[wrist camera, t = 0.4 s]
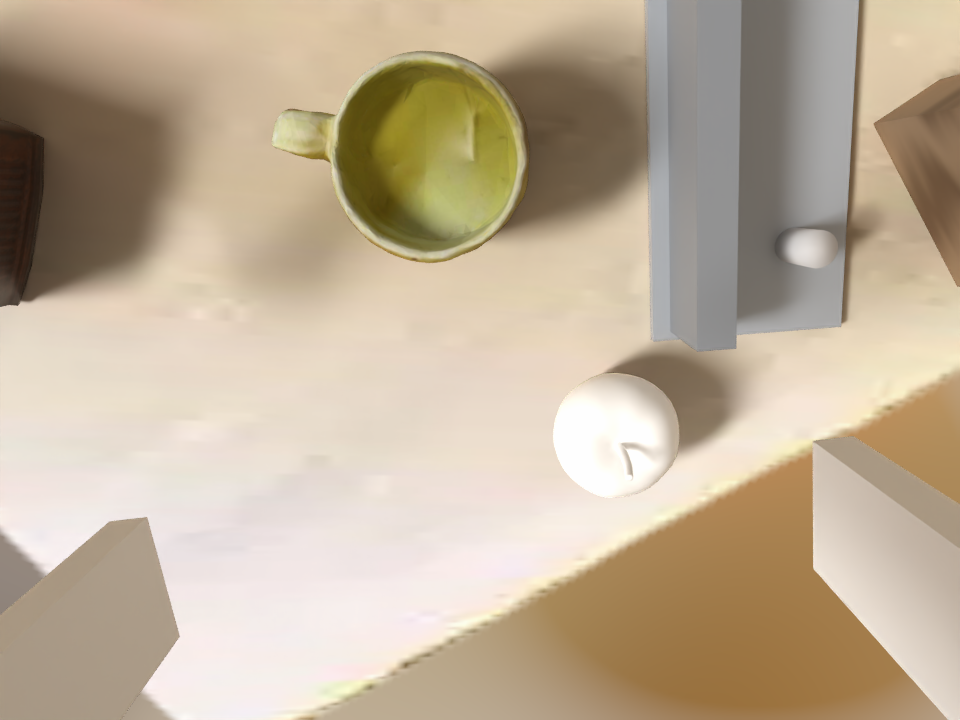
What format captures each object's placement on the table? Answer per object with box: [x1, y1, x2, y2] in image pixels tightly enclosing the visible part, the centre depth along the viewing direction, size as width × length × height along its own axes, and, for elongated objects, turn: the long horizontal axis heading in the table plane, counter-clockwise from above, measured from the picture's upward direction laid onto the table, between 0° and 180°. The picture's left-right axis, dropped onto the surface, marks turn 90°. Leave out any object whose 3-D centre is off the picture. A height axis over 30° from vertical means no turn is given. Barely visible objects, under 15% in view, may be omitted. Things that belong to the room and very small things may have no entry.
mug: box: [272, 51, 529, 263], centre depth 33 cm, size 12×10×10 cm
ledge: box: [645, 0, 859, 352], centre depth 33 cm, size 25×11×6 cm, turn 5°
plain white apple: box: [553, 373, 679, 498], centre depth 36 cm, size 7×7×8 cm
